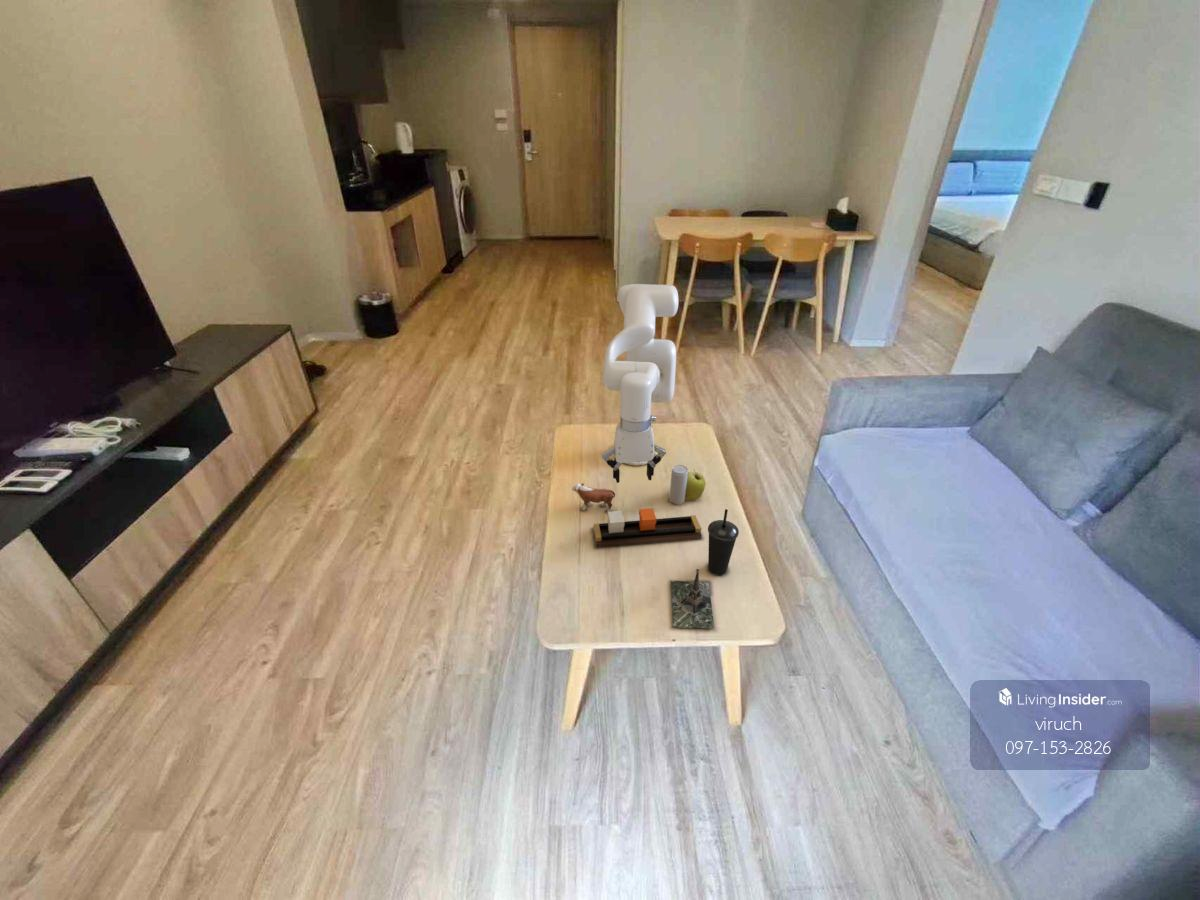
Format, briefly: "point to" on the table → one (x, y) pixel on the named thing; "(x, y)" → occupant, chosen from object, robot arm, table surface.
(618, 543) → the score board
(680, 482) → the beverage can
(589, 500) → the bull figurine
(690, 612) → the eiffel tower figurine
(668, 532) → the rails
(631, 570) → the table surface
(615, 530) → the white boxy piece
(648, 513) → the orange rectangular block
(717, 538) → the drinking cup
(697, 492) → the apple
